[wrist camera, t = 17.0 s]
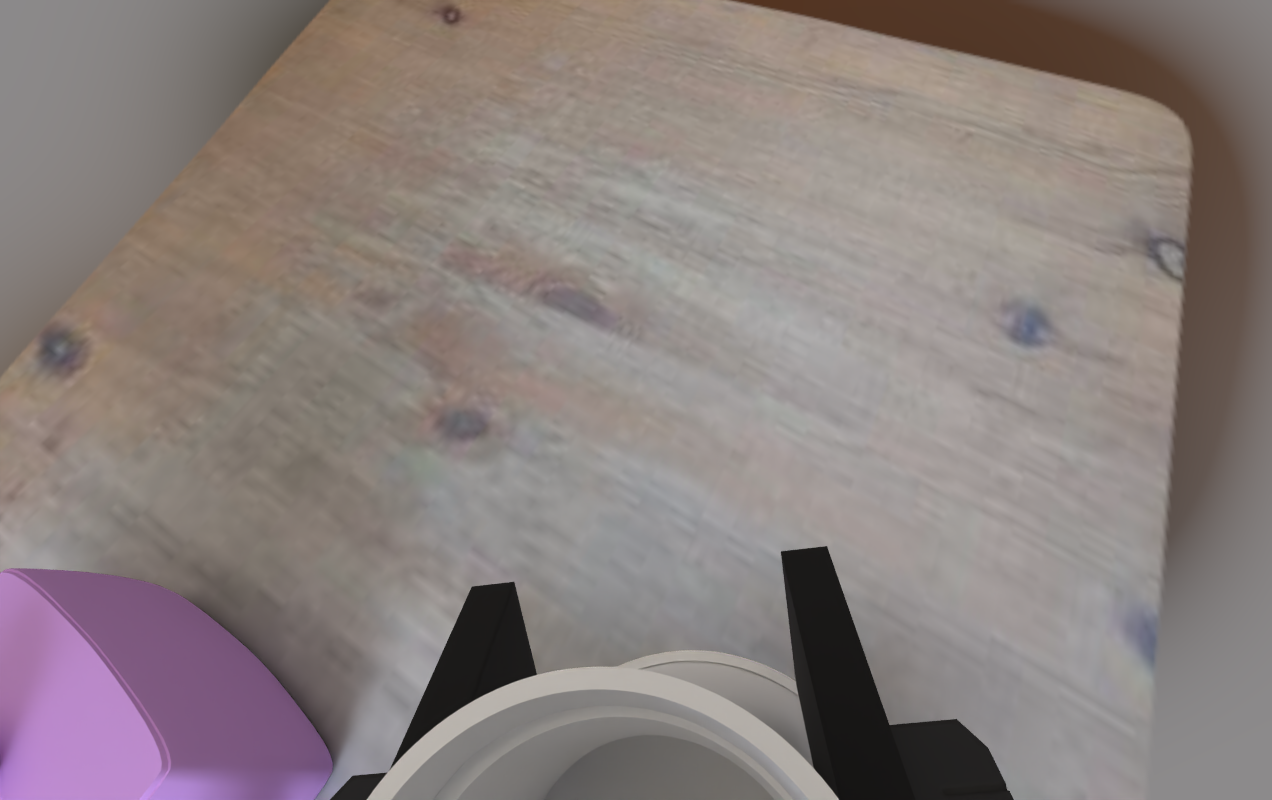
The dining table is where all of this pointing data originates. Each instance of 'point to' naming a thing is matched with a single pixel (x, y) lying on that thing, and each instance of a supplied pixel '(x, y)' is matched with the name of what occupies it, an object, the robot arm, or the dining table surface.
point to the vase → (621, 737)
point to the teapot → (139, 699)
